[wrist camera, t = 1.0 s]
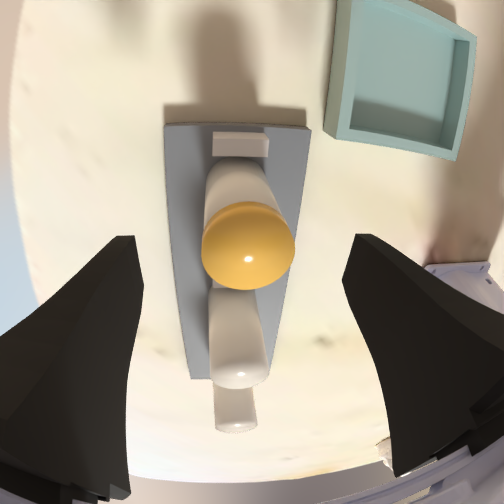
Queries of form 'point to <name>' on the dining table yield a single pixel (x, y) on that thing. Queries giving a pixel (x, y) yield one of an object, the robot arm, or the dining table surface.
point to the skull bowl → (386, 453)
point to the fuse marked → (243, 227)
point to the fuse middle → (236, 339)
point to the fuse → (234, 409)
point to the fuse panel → (193, 206)
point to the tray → (399, 77)
